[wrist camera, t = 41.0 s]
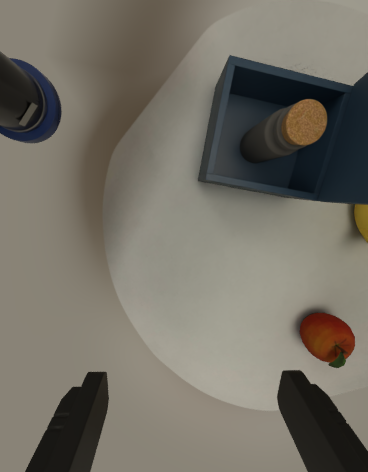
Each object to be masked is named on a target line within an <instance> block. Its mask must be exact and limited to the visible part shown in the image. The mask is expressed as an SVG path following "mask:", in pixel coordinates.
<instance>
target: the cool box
mask: <svg viewBox="0 0 368 472" xmlns="http://www.w3.org/2000/svg"><path fill="white" fill-rule="evenodd" d="M352 90H353V86H350V85H346V84H342V83H338V82H334V81H330V80H326V79H322V78H318V77H314V76H310V75H306V74H302V73H298V72H294V71H291V70H287V69H283V68H279V67H275V66H271V65H267V64H263V63H259V62H255V61H251V60H247V59H243V58H239V57H235V56H231V55H230V56H229V58H228V60H227V62H226V64H225V67H224V69H223V71H222V73H221V76H220V78H219V80H218V82H217V84H216V87H215V92H214V98H213V103H212V108H211V114H210V119H209V124H208V130H207V135H206V140H205V145H204V151H203V156H202V161H201V167H200V172H199V177H198V181H201V182H206V183H212V184H217V185H222V186H228V187H233V188H238V189H243V190H249V191H254V192H259V193H265V194H270V195H275V196H281V197H286V198H294V199H303V200H312V201H317V200H318V197H319V194H320V191H321V188H322V184H323V181H324V178H325V175H326V172H327V169H328V165H329V162H330V159H331V156H332V153H333V150H334V146H335V143H336V140H337V137H338V134H339V131H340V127H341V124H342V121H343V118H344V115H345V112H346V109H347V105H348V102H349V99H350V96H351V93H352ZM305 99H313V100H316V101H318V102H320V103H321V104H322V105H323V107H324V108H325V110H326V114H327V125H326V128H325V131H324V133H323V134H322V136H321V137H320V138H319V139H318V140H317V141H315V142H314V143H312V144H309V145H307V146H305V147H303V148H301V149H298V150H297V151H295V152H294V153H292V154H289V155H286V156H283V157H279V158H275V159H271V160H267V161H263V162H259V163H251V162H248V161H247V160H245V159H244V158H243V156H242V154H241V151H240V142H241V139H242V137H243V136H244V135H245V133H246V132H248V131H249V130H250V129H252V128H253V127H254V126H256V125H257V124H259V123H260V122H261V121H263V120H264V119H266V118H267V117H269V116H270V115H272V114H273V113H275V112H276V111H278V110H280V109H283V108H287V107H289V106H291V105H293V104H296V103H298V102H300V101H302V100H305Z"/></svg>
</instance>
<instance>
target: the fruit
mask: <svg viewBox="0 0 368 472" xmlns="http://www.w3.org/2000/svg"><path fill="white" fill-rule="evenodd" d="M300 335H301V339H302V342H303V343H304V345H305V347H306V348H307V349H308V351H309V352H310V353H311V354H312V355H313V356H315V357H316V358H318V359H320V360H322V361H325V362H330V363H329V366H332V367H334V368H339V367H341V366H344V364H345V362H346V360H345V359H346V358H348V357H349V356H350V355H351V353H352V352H353V350H354V347H355V336H354V334H353V332H352V330H351V328H350V327H349V326H348V325H347V324H346V323H345V322H344V321H342V320H341V319H339V318H337V317H336V316H333V315H330V314H326V313H314V314H311V315H309V316H307V317H306V318H305V319H304V320H303V321H302V323H301V326H300Z"/></svg>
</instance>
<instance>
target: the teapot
mask: <svg viewBox="0 0 368 472" xmlns="http://www.w3.org/2000/svg"><path fill="white" fill-rule="evenodd" d="M354 216H355V221H356V224H357V227H358V229H359V231H360V233H361V234H362V236H363V237H364V239H365V240H366V242H367V243H368V205H362V204H355V208H354Z"/></svg>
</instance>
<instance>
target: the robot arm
mask: <svg viewBox="0 0 368 472" xmlns="http://www.w3.org/2000/svg"><path fill="white" fill-rule="evenodd" d="M46 113H47V99H46V95H45V93H44V90H43V88H42V87H41V85H40V84H39V82H38V81H37V80H36V79H35V78H34V77H33V76H32V75H31V74H29V73H28V72H27V71H25V70H24V69H22V68H20V67H19V66H18V65H17V64H15V63H14V62H13V61H12V60H10V59H9V58H8V57H6V56H5V55H4V54H3V53H1V52H0V126H1V127H3V128H5V129H8V130H11V131H14V132H19V133H26V132H31V131H33V130H35V129H37V128H38V127H39V126H40V125H41V124H42V123H43V121H44V119H45V117H46ZM277 399H278V405H279V409H280V411H281V414H282V416H283V418H284V421H285V423H286V425H287V427H288V429H289V432H290V434H291V436H292V438H293V440H294V442H295V444H296V447H297V449H298V451H299V453H300V455H301V458H302V460H303V462H304V464H305V467H306V469H307V471H308V472H368V451H367V450H366V448H365V447H364V445H363V444H362V443H361V441H360V440H359V438H358V437H357V435H356V434H355V433H354V431H353V430H352V429H351V427H350V426H349V424H347V423H346V420H345V419H344V417H343V416H342V414H341V413H340V412H338V409H337V407H336V406H335V405H334V403H333V402H332V400H331V399H330V397H329V396H328V395H327V394H326V393H325V392H324V391H323V390H321V389H320V388H319V387H318V386H317V385H316V384H310V382H309V381H308V379H307V378H306V376H305V375H304V373H303V372H302V371H300V370H286V371H283V372H282V375H281V380H280V385H279V390H278V395H277ZM108 400H109V397H108V382H107V373H106V372H88V373H87V375H86V377H85V379H84V382H83V384H82V387H72V388H71V390H70V391H69V392H68V393H67V394H66V395H65V396H64V397H63V398H62V399H61V401H60V404H59V405H58V407H57V409H56V411H55V414H54V417H53V418H52V419H51V421H50V423H49V425H48V428H47V430H46V431H45V433H44V435H43V437H42V439H41V441H40V443H39V445H38V447H37V449H36V451H35V453H34V455H33V457H32V459H31V461H30V463H29V465H28V467H27V469H26V471H25V472H90V470H91V466H92V463H93V460H94V456H95V453H96V449H97V446H98V442H99V439H100V435H101V431H102V427H103V424H104V420H105V417H106V414H107V408H108Z"/></svg>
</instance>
